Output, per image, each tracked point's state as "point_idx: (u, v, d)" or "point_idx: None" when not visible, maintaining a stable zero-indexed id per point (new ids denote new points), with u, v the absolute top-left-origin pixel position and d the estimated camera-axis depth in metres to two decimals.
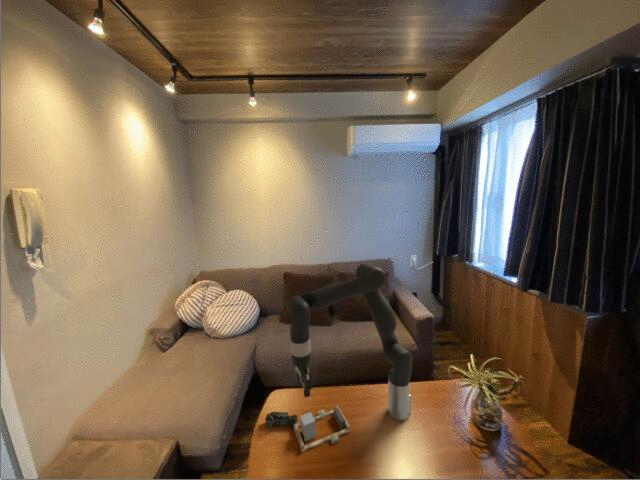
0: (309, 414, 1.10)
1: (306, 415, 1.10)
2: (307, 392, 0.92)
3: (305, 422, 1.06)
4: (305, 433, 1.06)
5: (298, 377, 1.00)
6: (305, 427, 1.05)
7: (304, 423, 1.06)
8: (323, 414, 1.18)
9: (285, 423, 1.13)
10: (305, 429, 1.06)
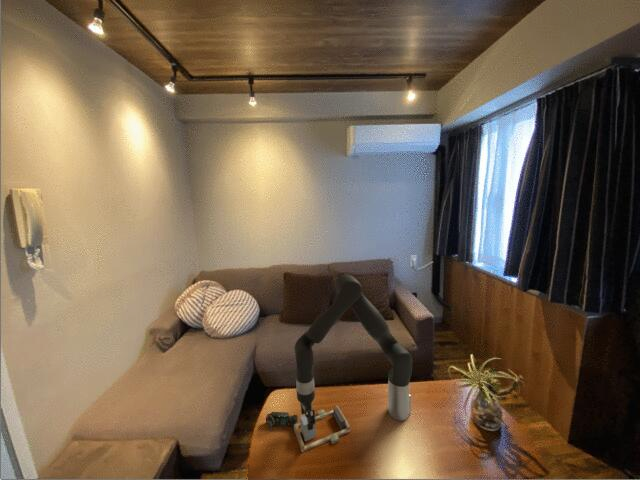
0: None
1: None
2: (310, 426, 1.03)
3: (305, 422, 1.06)
4: (305, 433, 1.06)
5: (302, 410, 1.11)
6: (305, 427, 1.05)
7: (304, 423, 1.06)
8: (323, 414, 1.18)
9: (285, 423, 1.13)
10: (305, 429, 1.06)
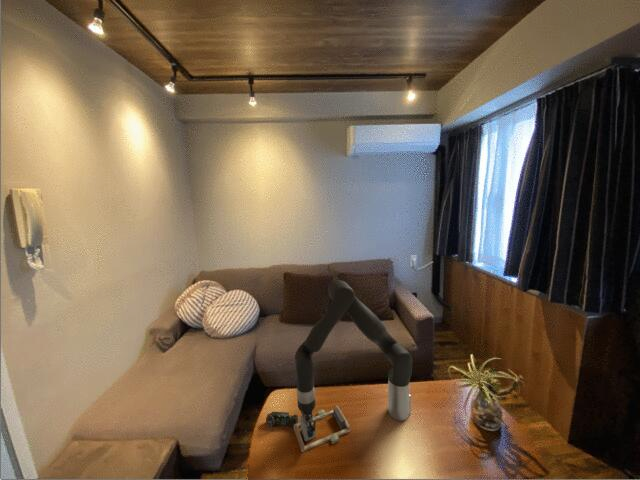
0: None
1: None
2: (310, 433, 1.05)
3: None
4: (305, 433, 1.06)
5: None
6: (305, 427, 1.05)
7: (304, 423, 1.06)
8: (323, 414, 1.18)
9: (286, 423, 1.13)
10: (305, 429, 1.06)
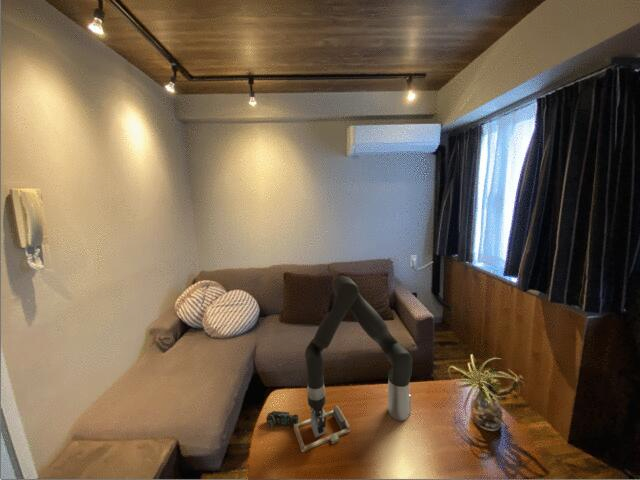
0: None
1: None
2: (321, 429, 1.07)
3: (315, 419, 1.08)
4: (315, 429, 1.07)
5: None
6: (315, 423, 1.07)
7: (314, 419, 1.07)
8: None
9: (286, 423, 1.13)
10: (315, 425, 1.07)
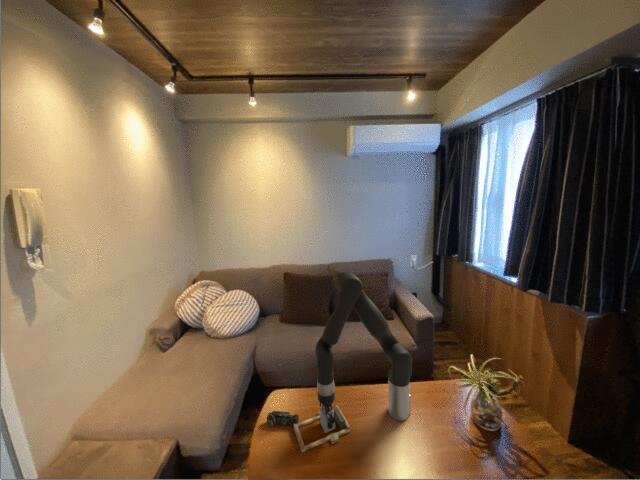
0: None
1: None
2: (330, 425, 1.09)
3: (324, 414, 1.09)
4: (325, 425, 1.09)
5: None
6: (325, 419, 1.09)
7: (324, 415, 1.09)
8: None
9: (286, 422, 1.13)
10: (325, 421, 1.09)
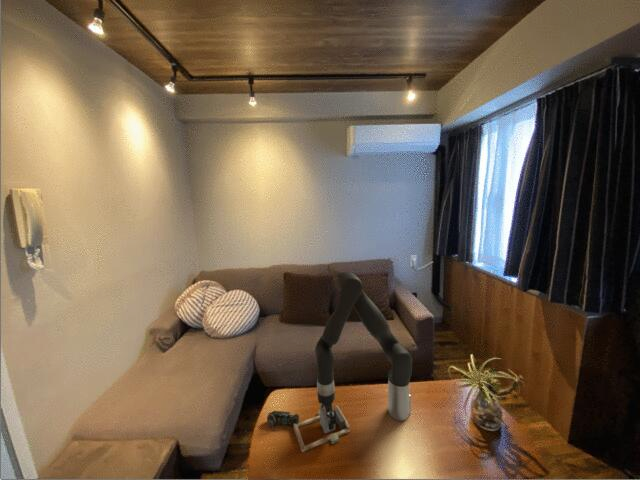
0: None
1: None
2: (331, 426, 1.07)
3: (325, 415, 1.09)
4: (325, 425, 1.09)
5: None
6: (325, 419, 1.09)
7: (324, 415, 1.09)
8: None
9: (287, 422, 1.13)
10: (325, 421, 1.09)
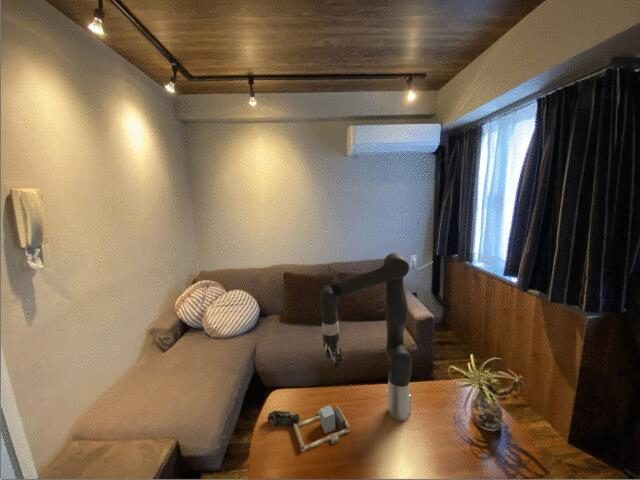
0: (328, 407, 1.13)
1: (325, 408, 1.13)
2: (337, 365, 1.11)
3: (325, 415, 1.09)
4: (325, 425, 1.09)
5: (327, 354, 1.19)
6: (325, 419, 1.09)
7: (324, 415, 1.09)
8: None
9: (287, 422, 1.13)
10: (325, 421, 1.09)
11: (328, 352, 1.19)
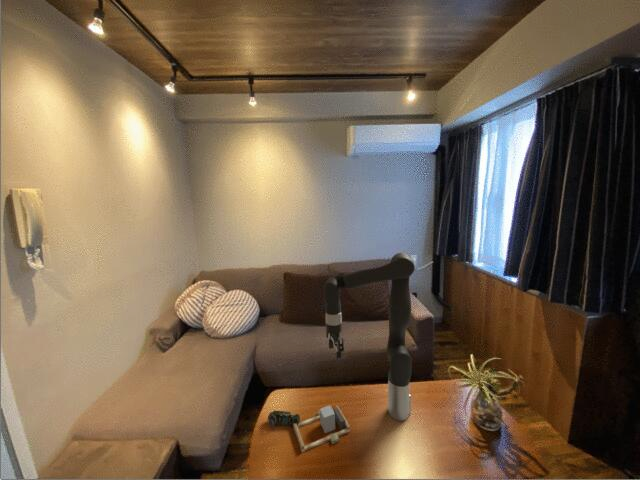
0: (328, 407, 1.13)
1: (325, 408, 1.13)
2: (339, 354, 1.14)
3: (325, 415, 1.09)
4: (325, 425, 1.09)
5: (330, 344, 1.22)
6: (325, 419, 1.09)
7: (324, 415, 1.09)
8: None
9: (287, 422, 1.13)
10: (325, 421, 1.09)
11: (331, 342, 1.23)
